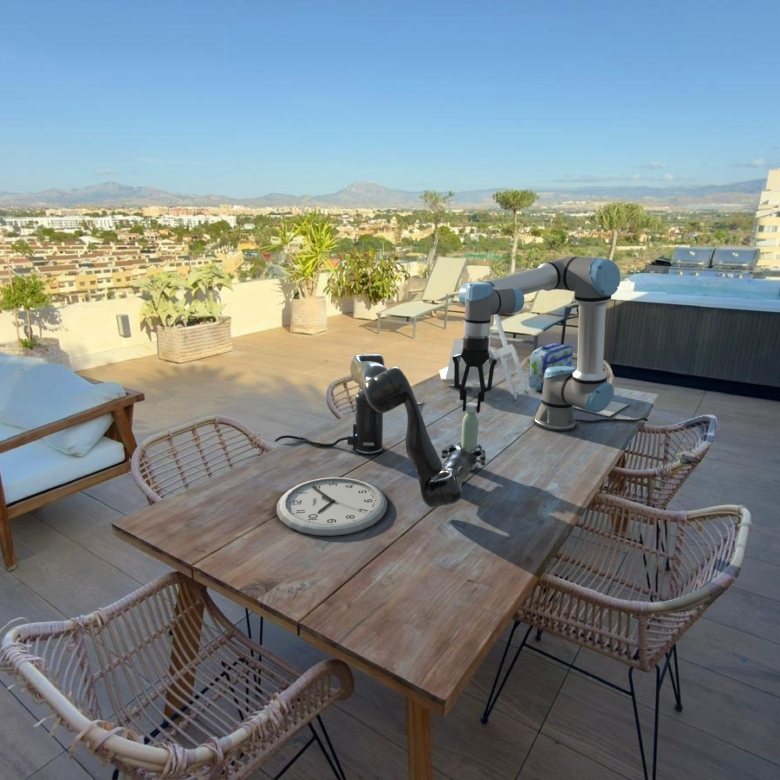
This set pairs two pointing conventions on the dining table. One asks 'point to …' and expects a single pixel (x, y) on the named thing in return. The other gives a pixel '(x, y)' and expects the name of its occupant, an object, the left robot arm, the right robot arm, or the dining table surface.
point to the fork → (420, 400)
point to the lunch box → (547, 362)
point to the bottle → (469, 432)
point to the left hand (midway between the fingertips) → (470, 445)
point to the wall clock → (331, 506)
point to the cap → (471, 407)
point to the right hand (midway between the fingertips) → (471, 410)
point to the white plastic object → (486, 363)
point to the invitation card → (609, 408)
